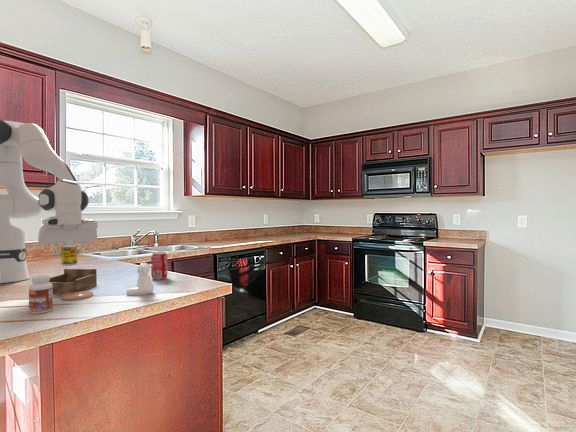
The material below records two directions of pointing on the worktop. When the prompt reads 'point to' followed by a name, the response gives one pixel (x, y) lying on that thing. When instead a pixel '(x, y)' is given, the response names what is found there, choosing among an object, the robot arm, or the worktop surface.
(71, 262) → the supplement bottle
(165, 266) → the soda can
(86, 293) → the tan oval disc
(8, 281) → the robot arm
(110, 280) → the worktop surface
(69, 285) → the frame
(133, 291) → the seated beast figurine
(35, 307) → the pill bottle
